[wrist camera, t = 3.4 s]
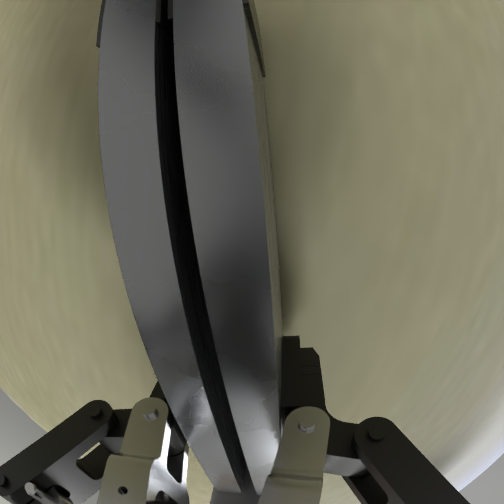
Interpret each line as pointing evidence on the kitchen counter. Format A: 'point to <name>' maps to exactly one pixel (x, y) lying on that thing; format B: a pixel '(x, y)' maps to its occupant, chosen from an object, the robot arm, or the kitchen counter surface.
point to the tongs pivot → (246, 500)
